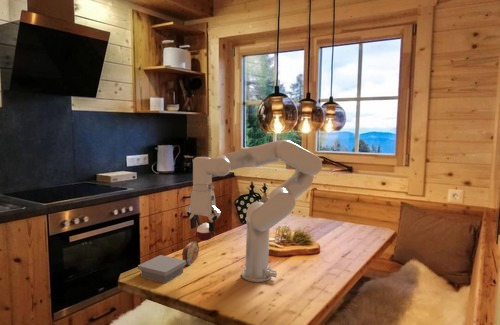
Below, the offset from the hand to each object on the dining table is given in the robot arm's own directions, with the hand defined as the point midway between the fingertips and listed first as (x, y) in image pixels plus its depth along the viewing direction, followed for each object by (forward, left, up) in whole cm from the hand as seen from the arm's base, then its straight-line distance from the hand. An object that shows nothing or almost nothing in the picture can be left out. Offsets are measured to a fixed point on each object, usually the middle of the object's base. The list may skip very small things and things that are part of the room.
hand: (202, 229), depth 148 cm
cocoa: (-1, 0, -4) cm, 4 cm away
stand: (+15, +6, -20) cm, 26 cm away
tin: (+14, -12, -21) cm, 27 cm away
